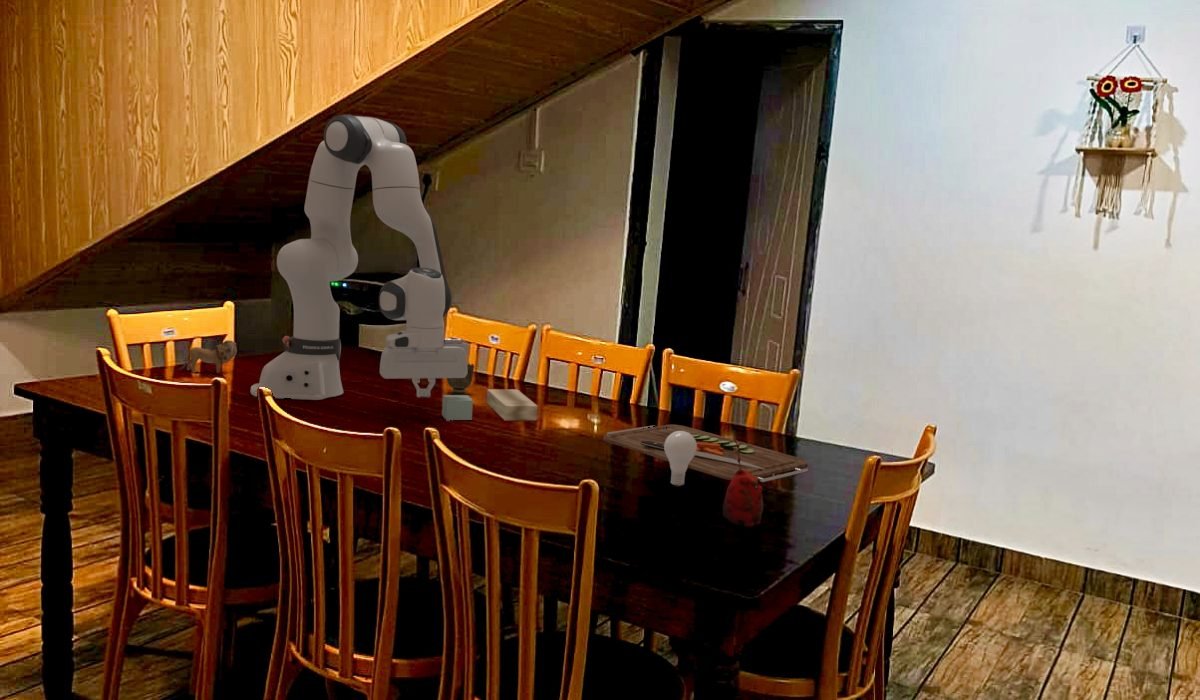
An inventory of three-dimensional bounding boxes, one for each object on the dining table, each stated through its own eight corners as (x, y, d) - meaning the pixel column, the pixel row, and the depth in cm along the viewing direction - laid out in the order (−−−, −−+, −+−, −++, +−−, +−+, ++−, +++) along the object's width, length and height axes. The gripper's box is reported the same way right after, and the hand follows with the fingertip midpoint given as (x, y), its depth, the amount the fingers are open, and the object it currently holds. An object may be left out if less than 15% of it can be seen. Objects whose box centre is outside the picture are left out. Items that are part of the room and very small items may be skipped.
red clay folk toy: (761, 531, 178) (769, 446, 176) (720, 526, 180) (728, 441, 177) (761, 517, 186) (770, 436, 184) (722, 513, 187) (730, 432, 185)
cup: (470, 397, 271) (472, 367, 270) (442, 395, 271) (444, 365, 270) (474, 392, 278) (476, 362, 277) (447, 390, 279) (448, 360, 277)
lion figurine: (237, 371, 282) (238, 339, 281) (235, 375, 277) (235, 342, 276) (180, 370, 279) (180, 337, 278) (176, 373, 274) (177, 340, 273)
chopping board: (822, 470, 225) (823, 456, 224) (746, 488, 206) (748, 473, 206) (667, 426, 256) (668, 414, 256) (590, 439, 238) (591, 426, 237)
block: (446, 421, 243) (447, 400, 242) (441, 415, 249) (442, 395, 248) (471, 421, 245) (472, 400, 244) (466, 415, 251) (467, 395, 250)
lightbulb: (691, 482, 206) (696, 428, 204) (695, 491, 199) (700, 436, 198) (659, 480, 205) (664, 426, 204) (662, 489, 199) (667, 433, 197)
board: (504, 420, 248) (505, 406, 247) (486, 402, 266) (487, 389, 266) (536, 420, 250) (537, 406, 250) (516, 402, 269) (517, 389, 268)
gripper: (466, 336, 247) (464, 393, 249) (379, 336, 241) (378, 394, 243) (471, 340, 242) (469, 398, 244) (383, 340, 235) (381, 400, 237)
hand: (423, 396), depth 243 cm, fingers closed
